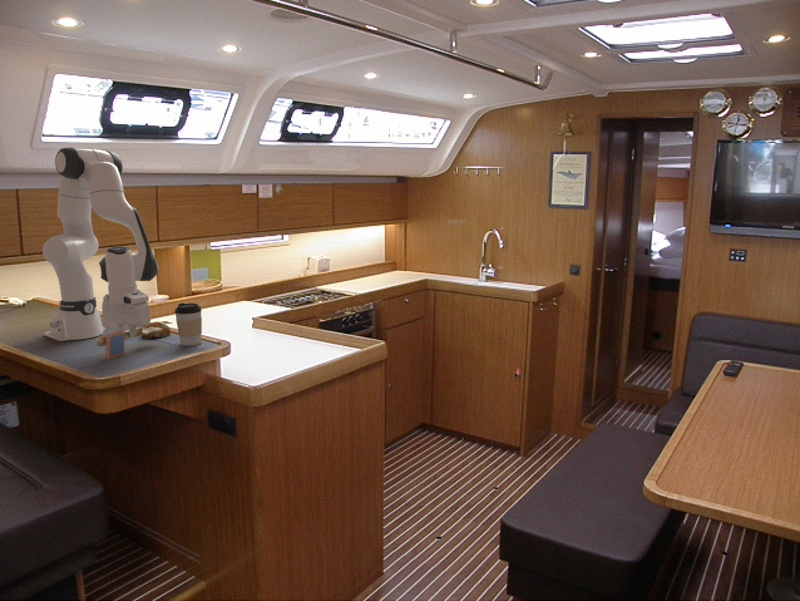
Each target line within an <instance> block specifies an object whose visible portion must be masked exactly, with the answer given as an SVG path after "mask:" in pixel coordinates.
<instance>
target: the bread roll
mask: <svg viewBox="0 0 800 601" xmlns="http://www.w3.org/2000/svg"><path fill="white" fill-rule="evenodd" d="M149 327H156V328H162V329H163V330H162V331H159V332H156V333H152V334H149V335H141V336H142V339H144V340H156V339H161V338H166V337H169V336H171V328H170V327H169V325H167V323H164V322H161V321H153V322H152V321H151V322H150V323H149V324H148V325H145V327H144V328H143V329H146V328H149Z"/></svg>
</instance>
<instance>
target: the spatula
mask: <svg viewBox="0 0 800 601" xmlns="http://www.w3.org/2000/svg"><path fill="white" fill-rule="evenodd" d="M129 330H130V329H126V331H123V332H125V341H126V340H129V339H133V338H136V337H140V336H142V335H149V334H152V333H156V332H159V331H162V330H163V329H162V328H156V327H149V328H146V329H144V328H142V327H140V326H137V327H136V330H135V336H134V337H129V336H128V332H129ZM96 344H97V347H106V335H105V336H101V337H98V338H96Z"/></svg>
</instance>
